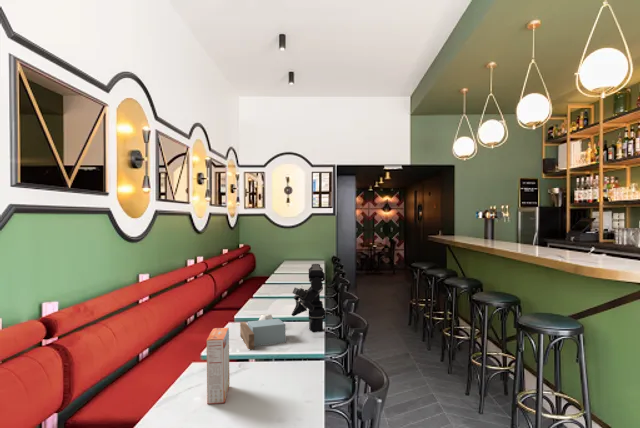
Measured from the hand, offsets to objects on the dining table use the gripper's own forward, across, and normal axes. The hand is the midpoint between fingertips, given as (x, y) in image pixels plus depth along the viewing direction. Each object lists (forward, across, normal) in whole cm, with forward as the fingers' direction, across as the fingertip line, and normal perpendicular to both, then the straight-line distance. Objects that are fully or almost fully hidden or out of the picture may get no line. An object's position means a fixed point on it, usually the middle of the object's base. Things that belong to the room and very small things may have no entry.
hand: (292, 315), depth 202 cm
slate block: (+17, +1, -2) cm, 17 cm away
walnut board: (+24, 0, -8) cm, 25 cm away
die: (+14, -19, +1) cm, 24 cm away
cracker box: (+38, +56, -21) cm, 71 cm away
